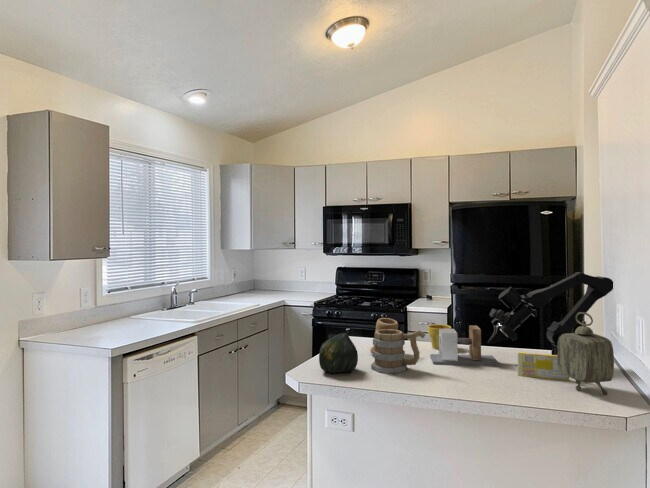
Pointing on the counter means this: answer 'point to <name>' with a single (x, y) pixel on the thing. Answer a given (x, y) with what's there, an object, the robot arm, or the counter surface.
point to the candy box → (539, 366)
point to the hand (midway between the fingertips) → (488, 343)
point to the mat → (466, 360)
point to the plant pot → (436, 334)
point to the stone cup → (385, 326)
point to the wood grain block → (473, 342)
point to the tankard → (393, 350)
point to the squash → (338, 354)
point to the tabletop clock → (586, 356)
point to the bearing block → (448, 345)
